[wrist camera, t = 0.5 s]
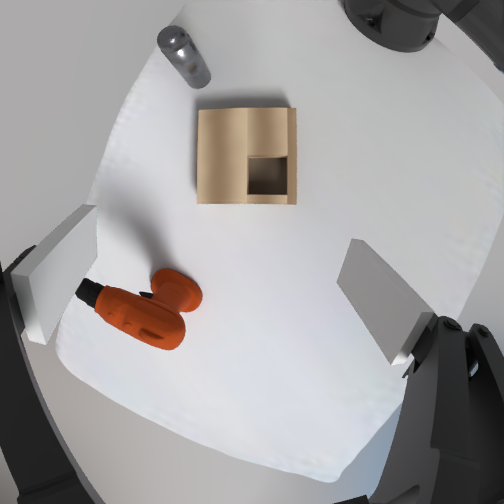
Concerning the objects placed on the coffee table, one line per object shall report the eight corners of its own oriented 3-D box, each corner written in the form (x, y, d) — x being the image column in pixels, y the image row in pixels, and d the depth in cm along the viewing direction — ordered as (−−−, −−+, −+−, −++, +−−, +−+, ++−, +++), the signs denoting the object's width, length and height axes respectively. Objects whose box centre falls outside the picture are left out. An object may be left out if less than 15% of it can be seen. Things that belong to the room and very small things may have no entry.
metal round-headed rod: (211, 66, 35) (185, 17, 22) (210, 87, 36) (182, 42, 22) (188, 69, 35) (153, 23, 22) (186, 89, 36) (149, 48, 23)
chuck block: (294, 114, 36) (296, 108, 33) (294, 204, 38) (296, 204, 35) (204, 116, 37) (198, 110, 34) (202, 203, 39) (197, 203, 36)
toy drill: (95, 229, 39) (35, 253, 24) (208, 285, 42) (193, 338, 27) (86, 258, 40) (28, 291, 25) (195, 313, 42) (176, 373, 28)
